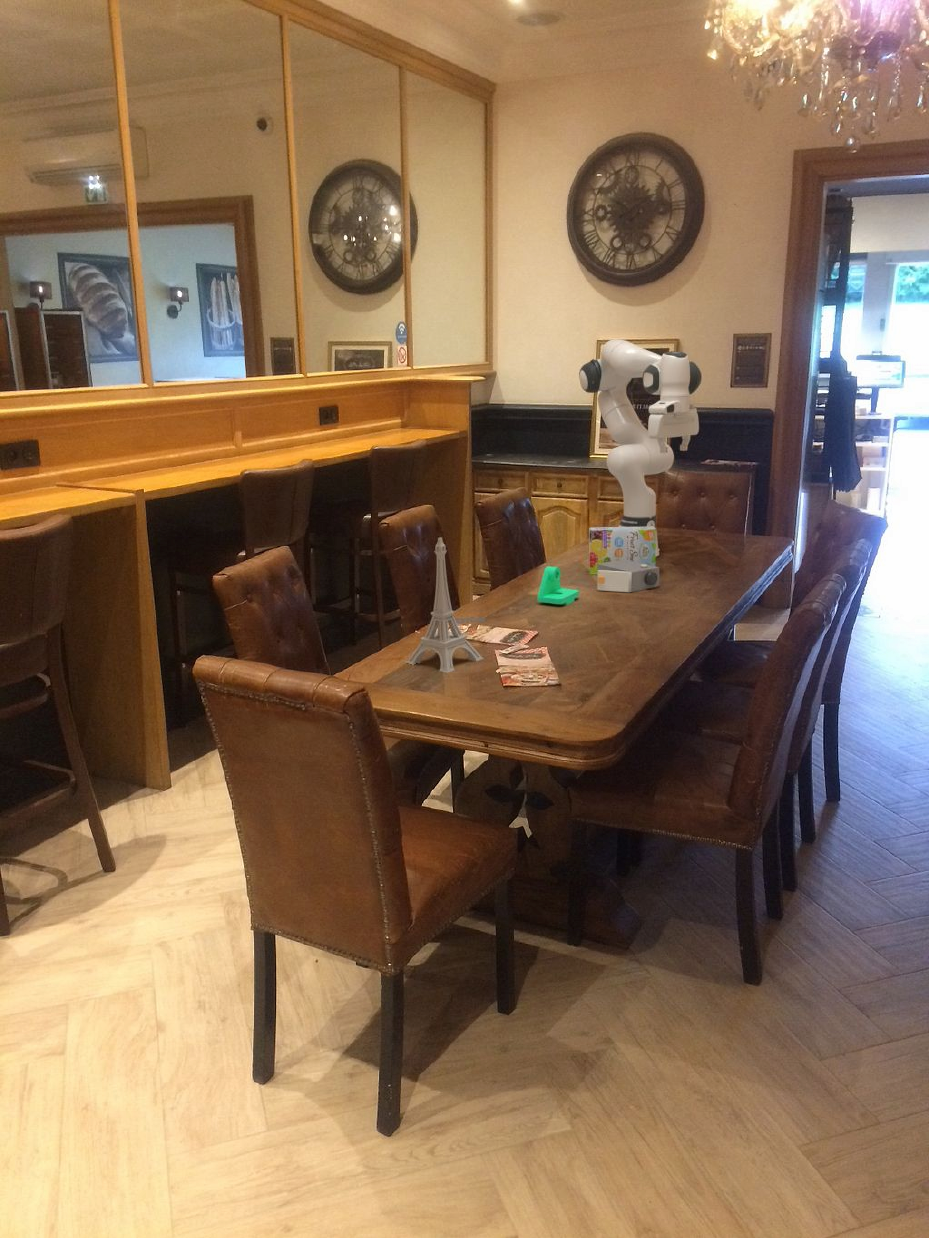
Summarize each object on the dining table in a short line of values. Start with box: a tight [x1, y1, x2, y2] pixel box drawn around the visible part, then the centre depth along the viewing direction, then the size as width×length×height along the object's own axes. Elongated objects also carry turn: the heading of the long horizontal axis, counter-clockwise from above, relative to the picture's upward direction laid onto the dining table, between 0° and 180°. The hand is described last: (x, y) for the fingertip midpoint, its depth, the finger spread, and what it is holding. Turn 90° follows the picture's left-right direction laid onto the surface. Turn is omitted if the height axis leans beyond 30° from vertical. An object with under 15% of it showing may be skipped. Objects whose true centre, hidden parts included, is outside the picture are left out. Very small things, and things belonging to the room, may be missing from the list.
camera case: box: [596, 559, 660, 593], centre depth 306 cm, size 17×11×7 cm, turn 33°
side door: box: [597, 570, 632, 593], centre depth 298 cm, size 10×2×6 cm, turn 68°
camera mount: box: [537, 565, 580, 606], centre depth 288 cm, size 12×8×10 cm, turn 147°
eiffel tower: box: [404, 537, 485, 674], centre depth 233 cm, size 13×13×30 cm
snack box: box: [588, 526, 657, 576], centre depth 321 cm, size 21×6×15 cm, turn 84°
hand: (673, 451), depth 306 cm, fingers open, 8 cm apart
